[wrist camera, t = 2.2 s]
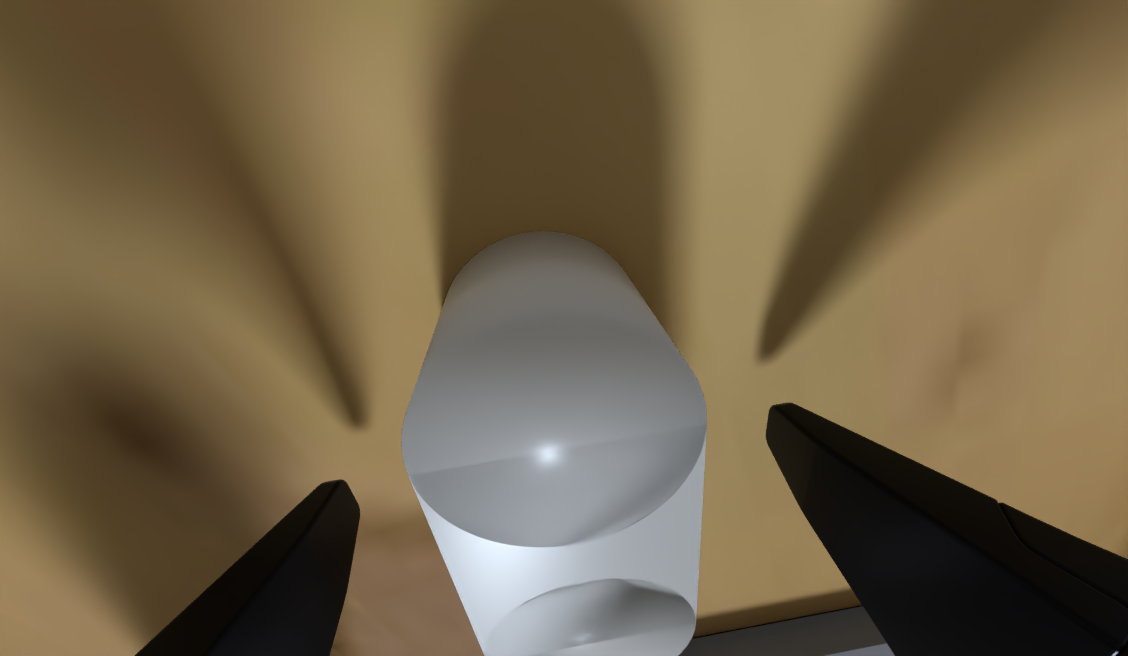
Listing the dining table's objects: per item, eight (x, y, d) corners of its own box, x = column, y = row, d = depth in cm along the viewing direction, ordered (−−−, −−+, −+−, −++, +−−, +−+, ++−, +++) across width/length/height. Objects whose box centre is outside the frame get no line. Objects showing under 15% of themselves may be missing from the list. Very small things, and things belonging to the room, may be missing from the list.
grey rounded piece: (634, 216, 8) (714, 287, 5) (648, 577, 13) (690, 721, 10) (417, 248, 8) (353, 344, 5) (522, 600, 13) (526, 753, 10)
